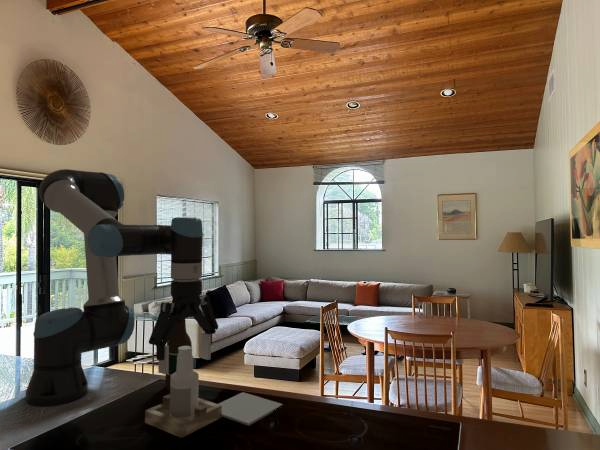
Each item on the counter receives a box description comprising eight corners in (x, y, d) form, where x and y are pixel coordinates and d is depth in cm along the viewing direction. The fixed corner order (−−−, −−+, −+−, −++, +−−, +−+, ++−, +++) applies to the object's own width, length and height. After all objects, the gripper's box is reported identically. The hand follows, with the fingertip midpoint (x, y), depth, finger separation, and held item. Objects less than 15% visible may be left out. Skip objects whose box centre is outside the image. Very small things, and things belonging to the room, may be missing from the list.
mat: (207, 411, 114) (207, 408, 114) (242, 394, 126) (242, 392, 126) (248, 425, 106) (248, 423, 106) (282, 406, 118) (282, 404, 118)
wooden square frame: (144, 422, 107) (144, 404, 107) (185, 404, 118) (185, 387, 118) (182, 438, 99) (182, 418, 99) (222, 417, 110) (222, 399, 110)
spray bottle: (167, 416, 110) (169, 345, 110) (195, 412, 113) (196, 342, 113) (171, 428, 104) (172, 352, 104) (200, 423, 107) (201, 350, 107)
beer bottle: (184, 393, 126) (186, 309, 125) (159, 390, 127) (161, 307, 127) (196, 383, 133) (197, 304, 133) (172, 381, 135) (174, 303, 135)
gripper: (154, 286, 96) (153, 383, 96) (232, 276, 117) (231, 355, 117) (133, 283, 100) (132, 376, 100) (211, 274, 121) (211, 351, 121)
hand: (185, 365), depth 108 cm, fingers open, 13 cm apart
